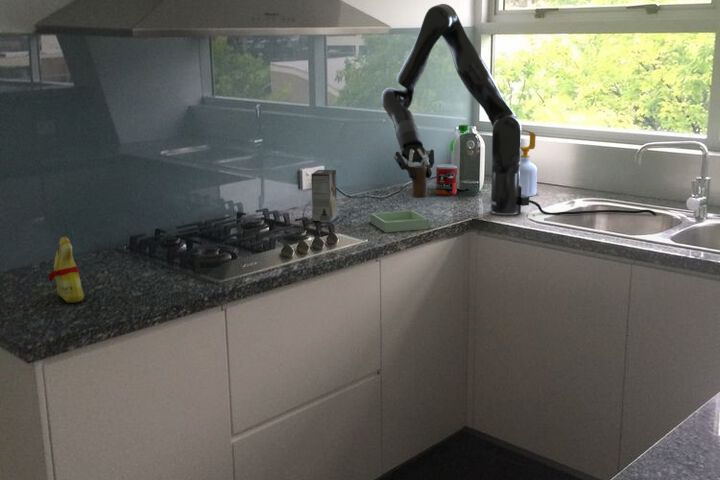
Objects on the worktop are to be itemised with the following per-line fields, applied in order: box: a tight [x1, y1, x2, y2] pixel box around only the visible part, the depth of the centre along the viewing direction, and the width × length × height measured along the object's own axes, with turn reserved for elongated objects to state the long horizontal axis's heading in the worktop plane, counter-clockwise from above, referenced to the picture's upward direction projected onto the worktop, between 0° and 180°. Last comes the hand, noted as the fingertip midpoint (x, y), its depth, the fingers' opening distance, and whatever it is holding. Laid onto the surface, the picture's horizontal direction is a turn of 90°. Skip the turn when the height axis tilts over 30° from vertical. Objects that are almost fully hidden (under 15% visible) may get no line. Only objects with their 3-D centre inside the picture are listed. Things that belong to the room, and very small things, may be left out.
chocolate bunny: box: [48, 236, 85, 304], centre depth 194 cm, size 7×11×15 cm, turn 36°
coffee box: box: [310, 169, 338, 223], centre depth 274 cm, size 9×6×16 cm
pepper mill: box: [411, 164, 428, 199], centre depth 273 cm, size 5×5×10 cm
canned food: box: [435, 163, 458, 197], centre depth 314 cm, size 8×8×11 cm
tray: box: [369, 209, 430, 233], centre depth 265 cm, size 15×15×3 cm
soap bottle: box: [519, 128, 538, 197], centre depth 310 cm, size 9×9×25 cm
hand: (421, 177), depth 271 cm, fingers closed on pepper mill, 4 cm apart
